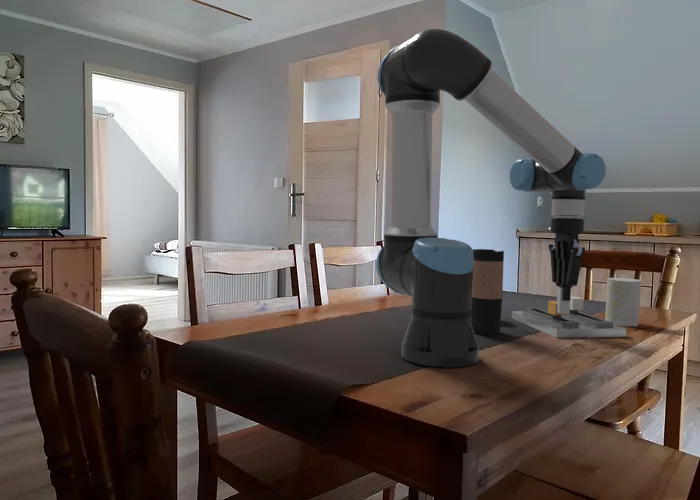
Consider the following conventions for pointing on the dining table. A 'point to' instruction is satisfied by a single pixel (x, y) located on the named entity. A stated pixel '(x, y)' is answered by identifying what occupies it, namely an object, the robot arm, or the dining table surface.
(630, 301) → the cup
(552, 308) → the block
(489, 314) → the travel mug
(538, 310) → the console
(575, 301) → the fader right
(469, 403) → the dining table surface
